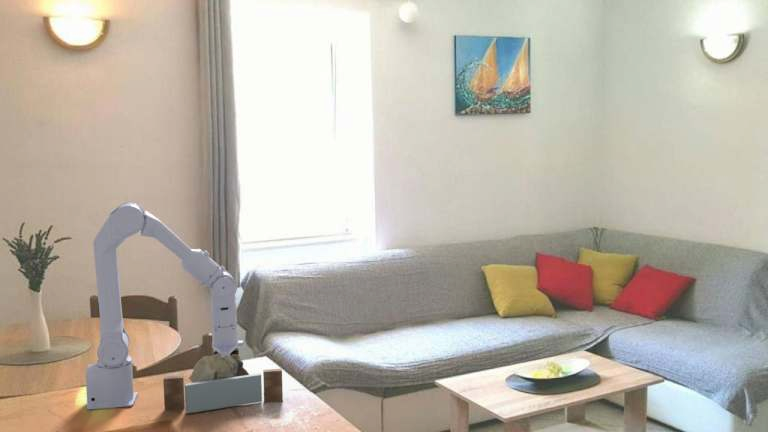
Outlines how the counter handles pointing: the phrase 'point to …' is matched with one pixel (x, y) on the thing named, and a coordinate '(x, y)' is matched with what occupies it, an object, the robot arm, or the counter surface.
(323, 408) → the counter surface
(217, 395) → the door
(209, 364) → the stone
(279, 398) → the door frame
